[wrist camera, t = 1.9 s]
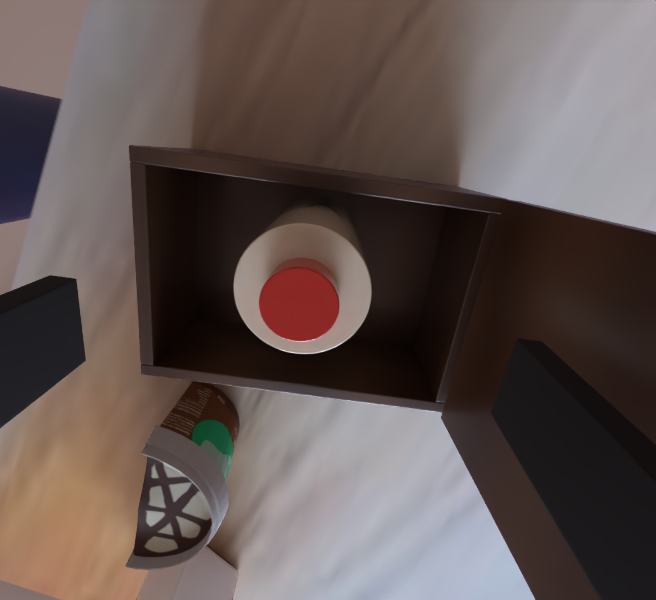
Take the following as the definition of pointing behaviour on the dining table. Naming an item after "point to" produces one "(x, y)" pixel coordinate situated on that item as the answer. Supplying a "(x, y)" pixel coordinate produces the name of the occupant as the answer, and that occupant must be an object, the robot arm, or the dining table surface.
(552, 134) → the dining table surface
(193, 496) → the food container
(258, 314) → the bottle
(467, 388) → the lid
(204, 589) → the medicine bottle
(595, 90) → the dining table surface
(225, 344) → the open box
